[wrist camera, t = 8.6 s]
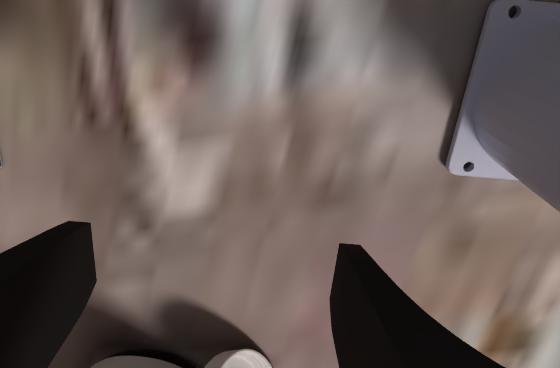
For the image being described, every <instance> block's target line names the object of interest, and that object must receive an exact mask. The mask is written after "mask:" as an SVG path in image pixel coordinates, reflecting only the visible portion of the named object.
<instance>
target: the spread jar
mask: <svg viewBox="0 0 560 368" xmlns="http://www.w3.org/2000/svg"><path fill="white" fill-rule="evenodd" d="M91 368H197V367H196V366H195V365H193V364H192V363H190V362H189V361H187V360H185V359H183V358H181V357H179V356H176V355H174V354H171V353H167V352H162V351H156V350H129V351H124V352H120V353H116V354H113V355H110V356H108V357H106V358H104V359H102V360H101V361H99V362H98V363H96V364H95V365H93V366H92V367H91ZM204 368H273V367H272V366H271V364H270V363H269V362H268V360H267V359H266V358H265V357H264V356H263V355H262V354H261V353H259V352H257V351H255V350H253V349H239V350H231V351H226V352H222V353H220V354H218V355H216V356H215V357H213V358H212V359H211V360H210V361H209V362H208V363H207V365H206V366H205V367H204Z"/></svg>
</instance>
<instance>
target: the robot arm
mask: <svg viewBox="0 0 560 368" xmlns="http://www.w3.org/2000/svg"><path fill="white" fill-rule="evenodd" d="M512 6H515V7H516V14H515V15H514V16H513V17H512V18H510V17H509V15H508V11H509V9H510V8H511V7H512ZM467 162H471V165H470V167H468V168H467V169H463V166H464V164H465V163H467ZM446 168H447V170H448V171H449V172H450V173H451V174H453V175H460V176H471V177H482V178H494V179H505V180H516V181H521V182H522V183H523V184H524V185H526V186H527V187H528V188H530V189H531V190H532V191H533V192H535V193H536V194H537V195H538V196H540V197H541V198H542V199H544V200H545V201H546V202H547V203H549V204H550V205H551V206H553V207H554V208H555V209H556V210H558V211H559V212H560V3H551V2H542V1H532V0H494V1H493V2H492V3H491V4H490V5H489V7H488V10H487V13H486V17H485V21H484V24H483V28H482V32H481V35H480V39H479V43H478V46H477V50H476V54H475V57H474V61H473V65H472V68H471V72H470V76H469V79H468V83H467V87H466V90H465V94H464V98H463V102H462V105H461V109H460V113H459V116H458V120H457V124H456V127H455V131H454V135H453V138H452V142H451V146H450V149H449V153H448V157H447V160H446ZM96 282H97V279H96V270H95V261H94V251H93V242H92V232H91V223H87V222H75V221H68V222H65V223H63V224H60V225H58V226H56V227H54V228H51V229H49V230H47V231H45V232H43V233H41V234H39V235H37V236H35V237H33V238H31V239H29V240H27V241H25V242H23V243H21V244H19V245H17V246H15V247H13V248H11V249H8V250H6V251H4V252H2V253H0V368H47V367H48V366H49V364H50V363H51V361H52V360H53V358H54V357H55V355H56V353H57V352H58V350H59V349H60V347H61V346H62V344H63V343H64V341H65V339H66V338H67V336H68V335H69V333H70V332H71V330H72V328H73V327H74V325H75V324H76V322H77V320H78V319H79V317H80V316H81V314H82V312H83V310H84V308H85V306H86V304H87V302H88V300H89V298H90V295H91V293H92V291H93V288H94V286H95V284H96ZM330 313H331V326H332V334H333V339H334V344H335V349H336V354H337V359H338V364H339V368H505V367H503V366H501V365H500V364H498V363H496V362H495V361H493V360H492V359H490V358H488V357H487V356H485V355H483V354H482V353H480V352H479V351H477V350H476V349H474V348H473V347H471V346H470V345H468V344H467V343H465V342H464V341H462V340H461V339H460V338H458V337H457V336H455V335H454V334H453V333H451V332H450V331H449V330H447V329H446V328H445V327H443V326H442V325H441V324H440V323H438V322H437V321H436V320H435V319H433V318H432V317H431V316H430V315H428V314H427V313H426V312H425V311H424V310H423V309H421V308H420V307H419V306H418V305H417V304H416V303H415V302H414V301H413V300H412V299H411V298H410V297H408V296H407V295H406V294H405V293H404V292H403V291H402V290H401V289H400V288H399V287H398V286H397V285H396V284H395V283H394V282H393V281H392V280H391V278H390V277H389V276H388V275H387V274H386V273H385V272H384V271H383V270H382V269H381V268H380V267H379V265H378V264H377V263H376V262H375V261H374V260H373V259H372V258H371V256H370V255H369V254H368V253H367V252H366V251H365V250H364V249H363V247H362V246H361V245H354V244H342V243H339V249H338V254H337V260H336V266H335V271H334V277H333V283H332V288H331V294H330Z"/></svg>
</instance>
